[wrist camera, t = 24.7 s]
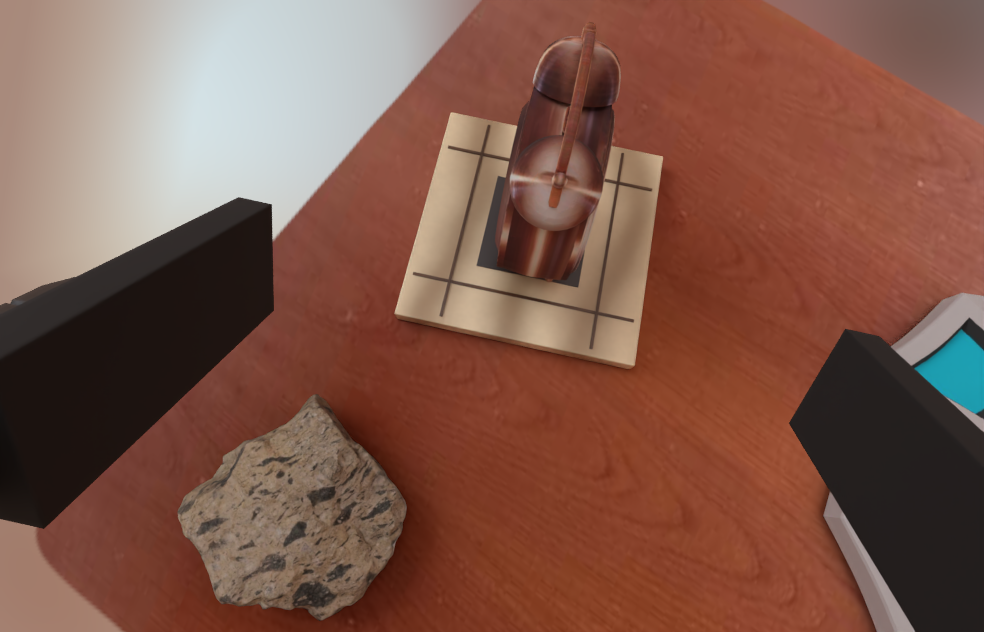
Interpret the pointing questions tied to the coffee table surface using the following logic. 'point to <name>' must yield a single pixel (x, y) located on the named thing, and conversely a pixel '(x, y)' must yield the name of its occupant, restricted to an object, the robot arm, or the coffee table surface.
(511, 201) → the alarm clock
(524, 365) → the coffee table surface
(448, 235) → the game board
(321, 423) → the rock
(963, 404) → the decorative platform
